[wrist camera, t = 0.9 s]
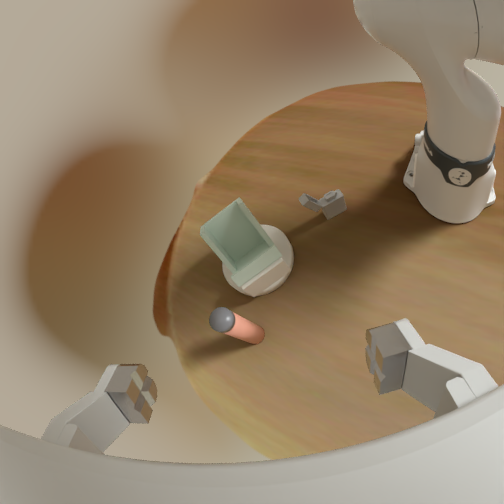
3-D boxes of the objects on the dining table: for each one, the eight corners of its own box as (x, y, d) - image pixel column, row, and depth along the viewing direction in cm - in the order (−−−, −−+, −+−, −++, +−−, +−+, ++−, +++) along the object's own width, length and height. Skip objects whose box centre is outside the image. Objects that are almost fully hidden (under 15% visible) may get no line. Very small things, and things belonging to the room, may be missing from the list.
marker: (250, 322, 49) (215, 303, 39) (267, 328, 47) (235, 311, 37) (243, 340, 48) (205, 326, 38) (260, 347, 46) (225, 334, 37)
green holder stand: (217, 257, 58) (180, 226, 47) (270, 217, 56) (243, 178, 46) (246, 310, 50) (208, 287, 40) (308, 266, 49) (285, 230, 39)
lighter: (342, 202, 51) (334, 175, 45) (347, 209, 51) (340, 182, 44) (309, 221, 53) (297, 196, 46) (313, 228, 52) (301, 203, 45)
